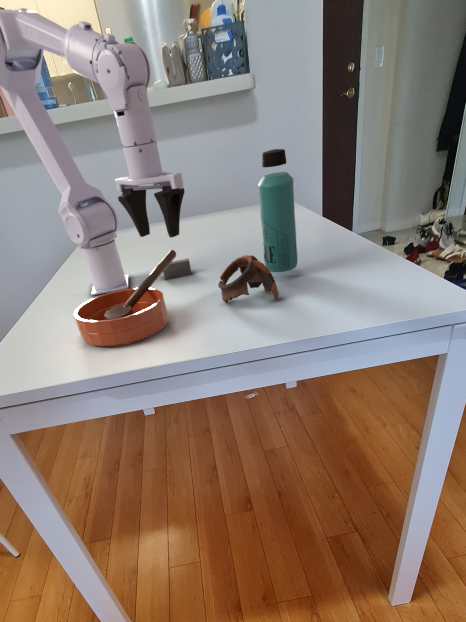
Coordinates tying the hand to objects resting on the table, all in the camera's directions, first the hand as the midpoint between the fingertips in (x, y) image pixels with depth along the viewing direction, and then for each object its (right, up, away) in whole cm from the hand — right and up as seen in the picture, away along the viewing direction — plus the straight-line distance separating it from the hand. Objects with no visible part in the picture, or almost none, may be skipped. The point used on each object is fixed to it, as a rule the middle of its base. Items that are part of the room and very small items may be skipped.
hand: (159, 235), depth 85 cm
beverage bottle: (+23, -5, +5) cm, 25 cm away
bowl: (-5, -20, -5) cm, 21 cm away
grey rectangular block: (+2, 0, +15) cm, 15 cm away
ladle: (-1, -14, -3) cm, 15 cm away
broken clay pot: (+17, -13, -2) cm, 22 cm away
